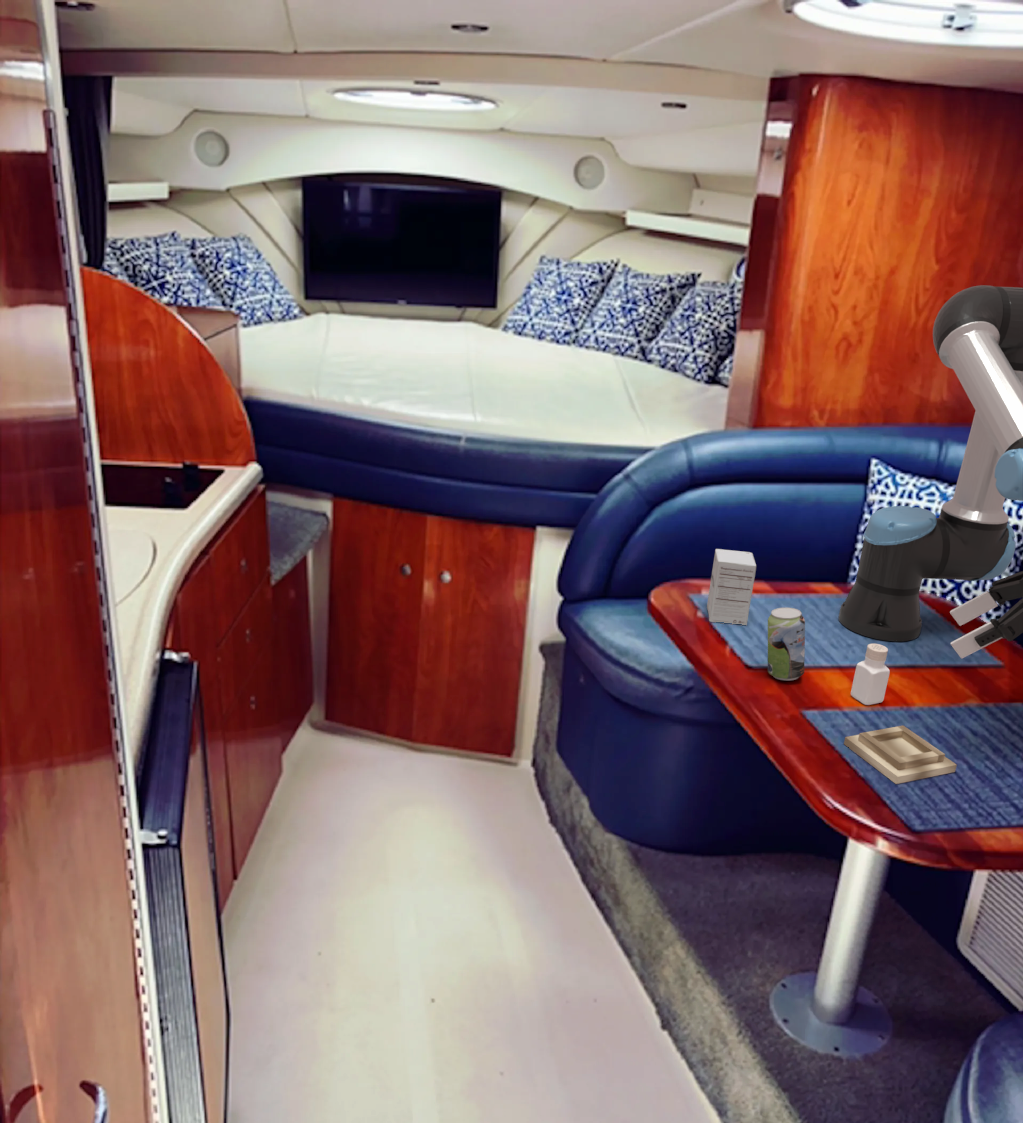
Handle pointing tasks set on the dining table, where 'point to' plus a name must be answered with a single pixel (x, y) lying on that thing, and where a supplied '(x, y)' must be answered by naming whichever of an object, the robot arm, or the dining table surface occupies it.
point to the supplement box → (731, 586)
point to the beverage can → (786, 643)
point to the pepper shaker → (871, 676)
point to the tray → (900, 754)
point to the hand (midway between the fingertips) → (955, 634)
